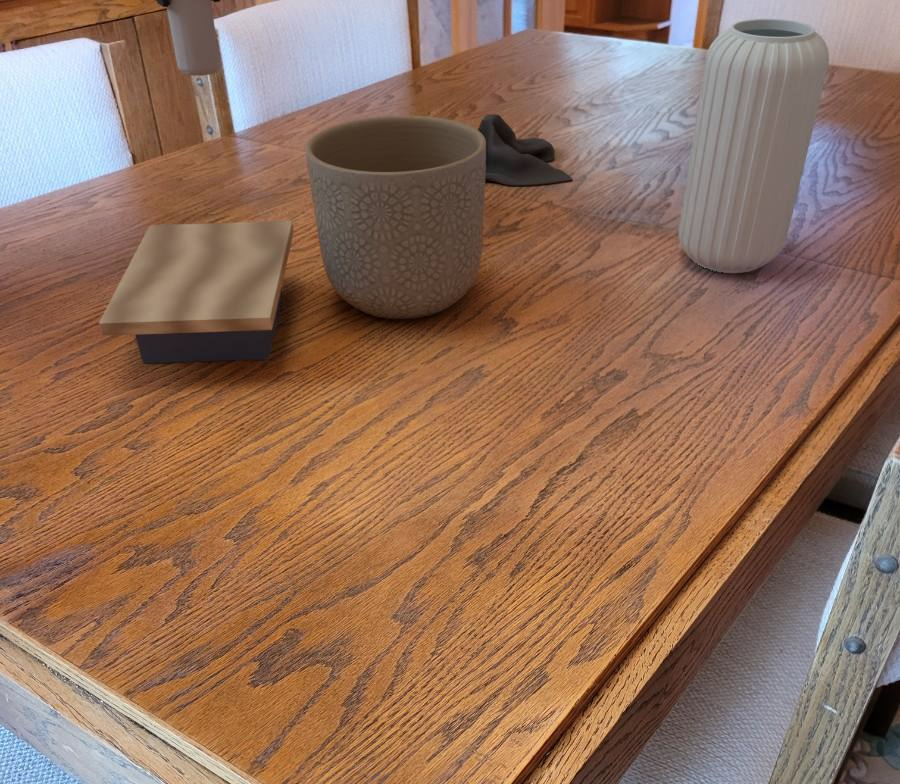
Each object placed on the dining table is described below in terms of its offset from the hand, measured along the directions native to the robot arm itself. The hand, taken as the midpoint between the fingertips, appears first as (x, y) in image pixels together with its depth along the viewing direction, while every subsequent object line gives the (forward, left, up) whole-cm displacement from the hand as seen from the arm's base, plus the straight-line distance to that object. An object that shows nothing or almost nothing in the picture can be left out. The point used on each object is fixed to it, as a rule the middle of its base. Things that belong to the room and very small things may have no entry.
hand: (188, 0), depth 98 cm
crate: (+3, -31, -23) cm, 38 cm away
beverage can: (0, 0, -7) cm, 7 cm away
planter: (+22, -26, -23) cm, 41 cm away
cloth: (+35, +14, -23) cm, 44 cm away
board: (+3, -31, -18) cm, 36 cm away
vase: (+58, -19, -23) cm, 65 cm away
